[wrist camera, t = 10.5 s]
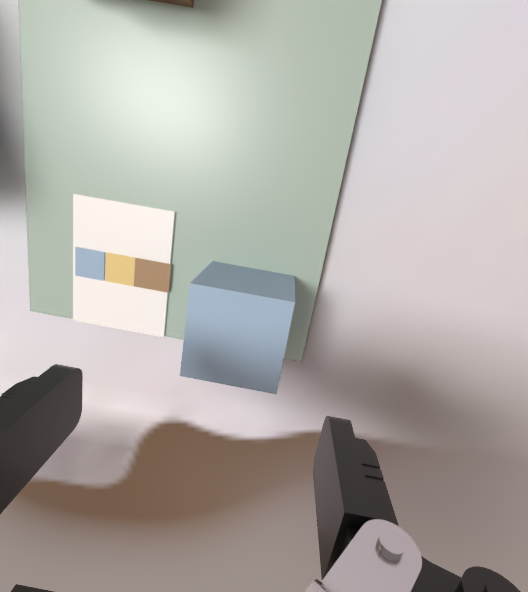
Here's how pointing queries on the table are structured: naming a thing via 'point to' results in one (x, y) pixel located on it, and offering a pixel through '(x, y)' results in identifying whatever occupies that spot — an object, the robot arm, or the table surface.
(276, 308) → the blue cube
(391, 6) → the table surface
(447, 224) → the table surface
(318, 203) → the build board
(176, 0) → the walnut base
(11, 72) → the table surface
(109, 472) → the table surface
